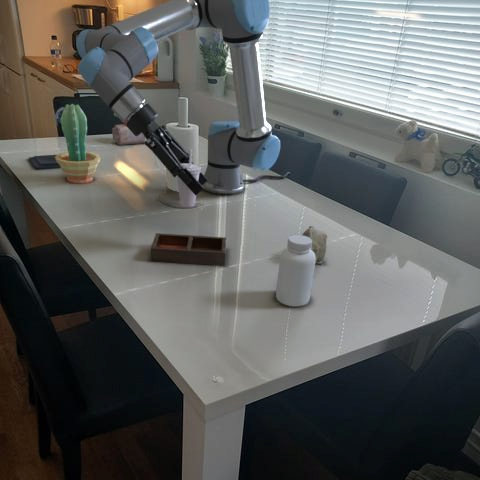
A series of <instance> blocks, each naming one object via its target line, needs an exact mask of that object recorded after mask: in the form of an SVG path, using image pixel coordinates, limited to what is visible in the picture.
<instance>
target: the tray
mask: <svg viewBox="0 0 480 480" xmlns="http://www.w3.org/2000/svg"><path fill="white" fill-rule="evenodd" d="M226 247H227V237H223V236H205V235H193V234H192V235H190V234H177V233H176V234H175V233H159V232H158V233H157V232H155V235H154V238H153V239H152V244H151V246H150V262H157V263H158V262H161V263H177V264H190V265H191V264H192V265H193V264H194V265H210V266H226V252H227V251H226V249H227V248H226Z"/></svg>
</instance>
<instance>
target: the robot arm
mask: <svg viewBox="0 0 480 480" xmlns="http://www.w3.org/2000/svg"><path fill="white" fill-rule="evenodd" d="M270 16H271V4H270V0H168V1H166V2H164V3H163V2H162V3H160V4H158V5H156V6H154V7H150V8H149V9H146V10H143V11H142V12H139V13H136V14H134V15H132V16H129V17H126V18H124V19H122V20H119V21H117V22H114V23H112V24H109V25H106V26H104V27H101V28H99V29H95V28H94V29H93V28H90V29H89V28H88V29H84V30H82V31H80V32H79V33H78V35H77V38H76V49H77V52H78V55H79V56H80V58H81V60H80V62H79V63H78V64H77V65H78V66H77V71H78V74H79V75H80V76H81V78H82V79H83V81H85V83H86V84H87V85H88V87H89V88H91V89H92V90H93V91H94V92H95V94H96V95H98V97H99V98H100V99H101V100H102V101H103V102H104V103H105V104H106V105H107V106H108V108H109V109H110V110H111V111H112V112H113V116H114V117H116V118H119V120H120V121H121V122H122V123H123V122H125V121H126V122H127V124H126V125H127V128H128V129H129V130H130V131H131V132H132V133H133V134H134V135H135V136H138V135H140V134H141V133H143V135H144V136H145V142H144V145H145V147H147V148H148V149H149V150H150V151H151V152H152V153H153V154H154V155H155V157H156V158H157V159H158V160H159V161H160V162H161V164H162V165H163V166H164V167H165V168H166V170H167V171H168V172H169V173H170V174H171V175H172V176H171V177H173V178H177V176H178V177H179V178H180V179H181V180H182V181H183V182H184V183H185V184H186V186H187V187H188V188H189V189H190V190H191V191H192V192H193V193H194V194H195V196H196V197H197V195H198V194H200V192H202V191H203V190H204V191H205V192H208V193H211V194H215V195H216V194H217V195H236V194H239V193H241V192H243V191H244V183H255V182H258V181H259V180H260V179H264V178H265V179H266V178H267V179H268V178H269V179H279V180H280V179H284V178H286V177H287V176H292V174H291V173H290V171H286V172H285V174H284V175H269V174H263V175H262V174H261V175H259V176H258V177H256V178H253V179H252V178H251V179H249V178H247V179H243V176H242V172H241V166H244V167H246V168H251V169H253V170H256V171H257V170H258V171H262V172H264V171H268V170H269V169H271V168H272V167H273V166H274V165H275V164H276V162H277V159H278V158H279V155H280V151H281V140H280V138H279V137H277V136H276V135H273V134H272V133H273V130H272V125H271V123H270V122H268V121H267V118H266V117H267V116H266V107H265V93H264V86H263V85H264V84H263V73H262V64H261V63H262V62H261V55H260V53H261V52H260V41H261V40H262V38H263V36H264V31H265V29H266V28H267V26H268V24H269V19H270ZM200 28H210V29H217V30H221V35H222V37H221V38H222V40H223V43H224V44H226V45H227V46H228V48H229V54H230V55H229V56H230V62H231V71H232V77H233V85H234V92H235V100H236V101H235V102H236V109H237V116H238V120H223V121H222V120H221V121H214V122H212V123H211V124H210V125H209V127H208V134H207V166H206V169H205V172H204V173H203V172H202V171H201V172H200V173H199V179H198V181H197V179H196V178H195V177H194V176H193V175H192V174H191V173H190V172H189V170H188V169H187V168H185V169H184V167H183V166H182V164H183V163H189V152H188V151H187V150H186V149H185V148H184V147H183V146H182V145H181V144H180V142H179V141H178V140H177V139H176V138H175V137H174V136H173V135H172V134H171V133H170V131H169V130H168V128H166V126H165V124H162V125H159V124H158V123H157V122H155V121H156V119H157V118H158V116H159V113H158V112H157V111H156V110H155V109H154V108H153V107H152V105H151V104H150V103H146V98H145V97H144V96H143V95H142V93H141V92H140V91H138V89H137V88H136V87H135V85H133V83H132V82H131V81H132V80H133V79H134V78H135V77H136V76H138V74H140V73H141V72H142V71H143V70H144V69H146V68H147V67H148V66H150V65H151V63H152V62H153V61H154V60H155V59H156V58H157V57H158V54H159V45H158V42H159V41H161V40H163V39H166V38H168V37H170V36H173V35H175V34H177V33H179V32H182V31H185V30H186V31H194V30H196V29H200ZM191 164H195V163H194V162H193V161H192V162H191Z"/></svg>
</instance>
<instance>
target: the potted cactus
mask: <svg viewBox="0 0 480 480" xmlns="http://www.w3.org/2000/svg"><path fill="white" fill-rule="evenodd" d="M54 119H55V125H56V126H59V123H60V124H61V131H62V133H63V136H64V138H65V142H66V147H67V151H65V152H61V153H58V154H55V155H56V156H55V159H56V161H57V163H58V164H59V165H60V167H61V168H60V169H61V171H62V172H63V173H64V174H65V176H66V180H67V181H68V182H70V183H74V184H85V183H86V184H87V183H91V182H92V181H93V180H94V177H93V175H94V174H95V172H96V171H97V168H98V165H99V163H100V162H101V156H100V155H99V154H98V153H94V152H90V151H87V150H86V149H87V148H86V139H87V135H88V119H87V116H86V114H85V112H84V111H83V109H82V108H81V106H80V105H79V104H74V103H70V104H69V103H68V104H65V106H62V107H59V108H58V109H57V110H56V112H55V115H54Z"/></svg>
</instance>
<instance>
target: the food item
mask: <svg viewBox="0 0 480 480" xmlns="http://www.w3.org/2000/svg"><path fill="white" fill-rule="evenodd" d="M126 124H127V122H126V121H125V122H122V124H121V123H120V124H115V125H114V127H112V129H111V134H112V139H113V140H114V142H115V143H117V145H119V146H128V145H143V144H144V145H145V143H144V142H145V141H146V138H145V136H144V135H143V133H141V134H140V135H138V136H135V135H134V134H133V133H132V132H131V131H130V130H129V129H128V128H127V125H126Z"/></svg>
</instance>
